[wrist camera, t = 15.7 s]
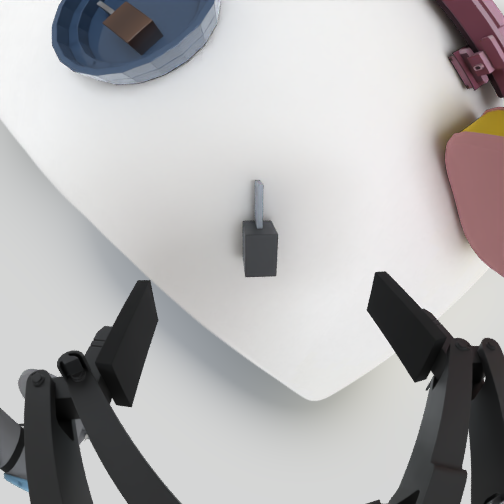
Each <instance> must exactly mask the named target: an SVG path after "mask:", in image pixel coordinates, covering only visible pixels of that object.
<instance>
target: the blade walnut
mask: <svg viewBox="0 0 504 504" xmlns="http://www.w3.org/2000/svg"><path fill="white" fill-rule="evenodd" d="M97 5H98V6H99V7H100V8H102V9H103V10H104V11H105V12H106V13H107V14H109V15H110V16H109V17H108V18H107V19H106V20H105V21H104V22H103V24H104V25H105V26H106V27H108V28H109V29H110V30H111V31H113V32H114V33H115V34H116V35H117V36H119V37H120V38H121V39H122V40H124V41H125V42H126V43H127V44H128V45H130V46H131V47H132V48H133V49H134V50H136V51H137V52H138V53H139V54H140V55H143V54H144V53H145V52H146V51H147V50H148V49H149V48H150V47H151V46H152V45H154V44H155V43H156V42H157V41H158V40H159V39H160V38H162V37H163V35H162V33H161V32H160V30H159V29H158V27H157V26H156V24H155V23H154V21H153V20H152V19H150V18H149V17H148V16H146V15H145V14H144V13H142V12H141V11H140V10H138V9H137V8H135V7H134V6H132V5H131V4H130V3H128V2H127V1H126V2H124V3H123V4H122V5H121V6H120V7H119V8H118V9H116V10H113V9H112V8H110V7H109V6H108V5H106V4H105V3H103V2H102V1H99V2H98V3H97Z"/></svg>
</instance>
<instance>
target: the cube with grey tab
mask: <svg viewBox="0 0 504 504" xmlns="http://www.w3.org/2000/svg"><path fill="white" fill-rule="evenodd" d="M277 249H278V234H277V232H276V230H275V228H274V226H273V224H272V221H263V183H262V182H261V181H260V180H255V221H243V262H244V271H245V277H266V276H276V269H277Z"/></svg>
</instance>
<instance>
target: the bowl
mask: <svg viewBox="0 0 504 504" xmlns="http://www.w3.org/2000/svg"><path fill="white" fill-rule="evenodd" d="M99 1H102V2H103V3H105V4H106V5H108V6H109V7H110V8H112V9H113V10H116V9H118V8H119V7H120V6H121V5H122V4H123V3H124V2H126V1H127V2H128V3H130V4H131V5H132V6H134V7H135V8H137V9H138V10H140V11H141V12H142V13H144V14H145V15H146V16H148V17H149V18H150V19H152V20H153V21H154V23H155V24H156V26H157V27H158V29H159V30H160V32H161V33H162V35H163V37H162V38H160V39H159V40H158V41H157V42H156V43H155V44H154V45H152V46H151V47H150V48H149V49H148V50H147V51H146V52H145V53H144V54H143V55H140V54H139V53H138V52H137V51H136V50H134V49H133V48H132V47H131V46H130V45H128V44H127V43H126V42H125V41H124V40H122V39H121V38H120V37H119V36H117V35H116V34H115V33H114V32H113V31H111V30H110V29H109V28H108V27H106V26H105V25H104V24H103V22H104V21H105V20H106V19H107V18H108V17H109V16H110V15H109V14H107V13H106V12H105V11H104V10H103V9H102V8H100V7H99V6H98V5H97V3H98V2H99ZM219 10H220V0H62V1H61V3H60V4H59V6H58V9H57V12H56V15H55V18H54V21H53V24H52V46H53V48H54V50H55V52H56V54H57V56H58V58H59V61H60V62H62V63H63V64H64V65H66V66H67V67H69V68H70V69H71V70H73V71H74V72H77V73H79V74H82V75H85V76H88V77H91V78H93V79H96V80H99V81H104V82H108V83H112V84H116V85H120V84H133V83H142V82H145V81H147V80H150V79H153V78H156V77H159V76H163V75H165V74H167V73H168V72H170V71H171V70H173V69H175V68H176V67H178V66H180V65H181V64H183V63H185V62H187V61H188V60H189V59H190V58H191V57H192V56H193V55H194V54H195V53H196V52H197V51H198V50H199V49H200V48H201V47H202V46H203V45H204V44H205V43H206V42H207V40H208V38H209V36H210V35H211V33H212V31H213V30H214V28H215V26H216V24H217V21H218V15H219Z"/></svg>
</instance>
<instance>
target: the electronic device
mask: <svg viewBox="0 0 504 504" xmlns="http://www.w3.org/2000/svg"><path fill="white" fill-rule="evenodd" d="M435 1H436V2H437V3H438V4H439V6H440V7H441V8H442V9H443V10H444V12H445V13H446V14H447V15H448V17H449V18H450V19H451V21H452V22H453V23H454V25H455V26H456V27H457V29H458V30H459V31H460V33H461V34H462V36H463V37H464V39H465V40H466V42H467V43H468V45H466V46H465V47H463V48H461V49H459V50H457V51H455V52H454V53H452V54H453V55H452V56H450V57H448V58H449V59H450V61H451V62H452V64H453V65H454V67H455V69H456V70H457V72H458V74H459V75H460V77H461V79H462V80H463V82H464V84H465V85H466V87H467V89H470V88H473V89H474V90H476V89H478V88H479V87H480V86H482V85H483V84H485V83H487V82H488V81H489V80H490V82H491V84H492V86H493V88H494V90H495V92H496V94H497V96H498V97H500V98H503V97H504V16H503V15H502V13H501V11H500V10H499V9H498V7H497V6H496V4H495V3H494V2H493V0H435Z"/></svg>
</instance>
